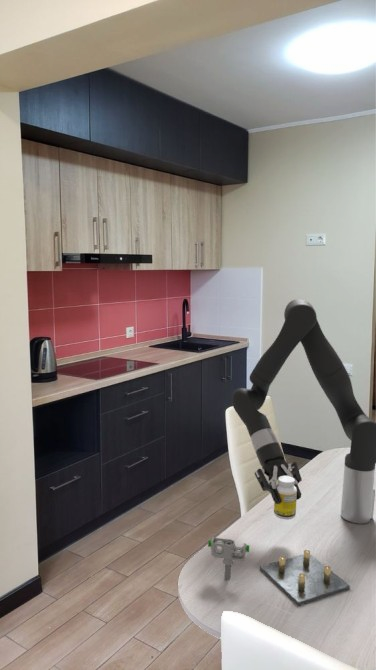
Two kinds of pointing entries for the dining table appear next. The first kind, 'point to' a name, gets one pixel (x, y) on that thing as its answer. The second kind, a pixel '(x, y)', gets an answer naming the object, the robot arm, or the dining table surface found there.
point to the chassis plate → (310, 580)
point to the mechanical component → (227, 553)
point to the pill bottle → (286, 498)
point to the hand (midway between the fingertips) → (289, 500)
